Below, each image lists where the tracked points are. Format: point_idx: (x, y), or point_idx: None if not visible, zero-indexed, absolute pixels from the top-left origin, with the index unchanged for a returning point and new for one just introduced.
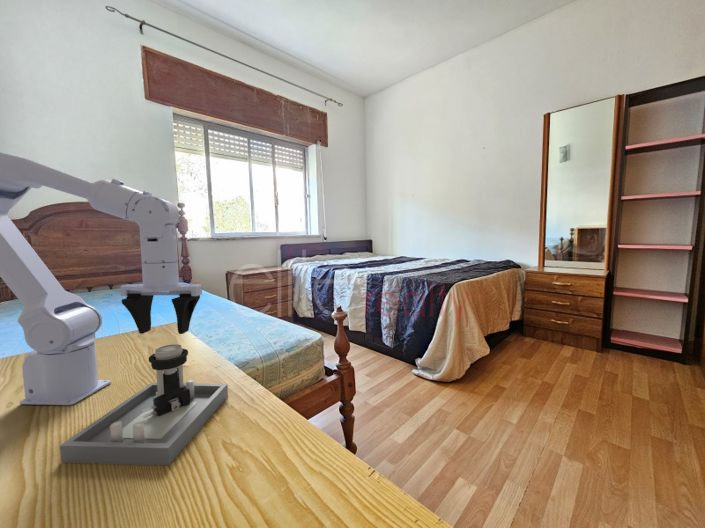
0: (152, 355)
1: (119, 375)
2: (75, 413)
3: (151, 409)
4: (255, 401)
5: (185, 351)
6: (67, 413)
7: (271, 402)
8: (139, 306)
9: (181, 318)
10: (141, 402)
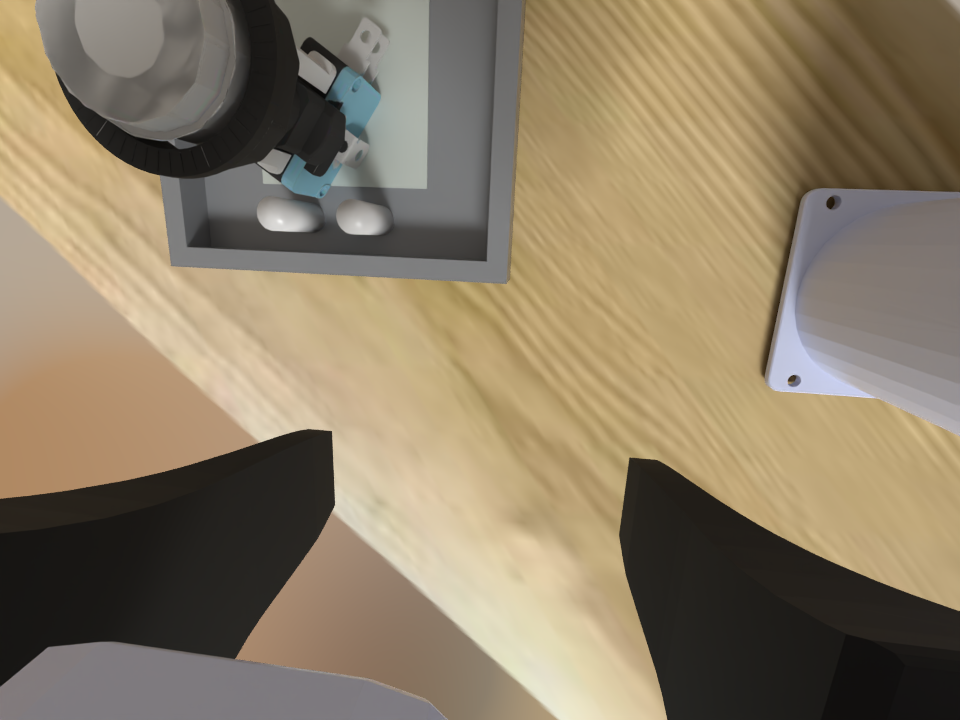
0: (264, 23)
1: (776, 456)
2: (740, 136)
3: (409, 124)
4: (95, 225)
5: (91, 112)
6: (776, 136)
7: (39, 218)
8: (739, 658)
9: (192, 464)
10: (488, 181)
